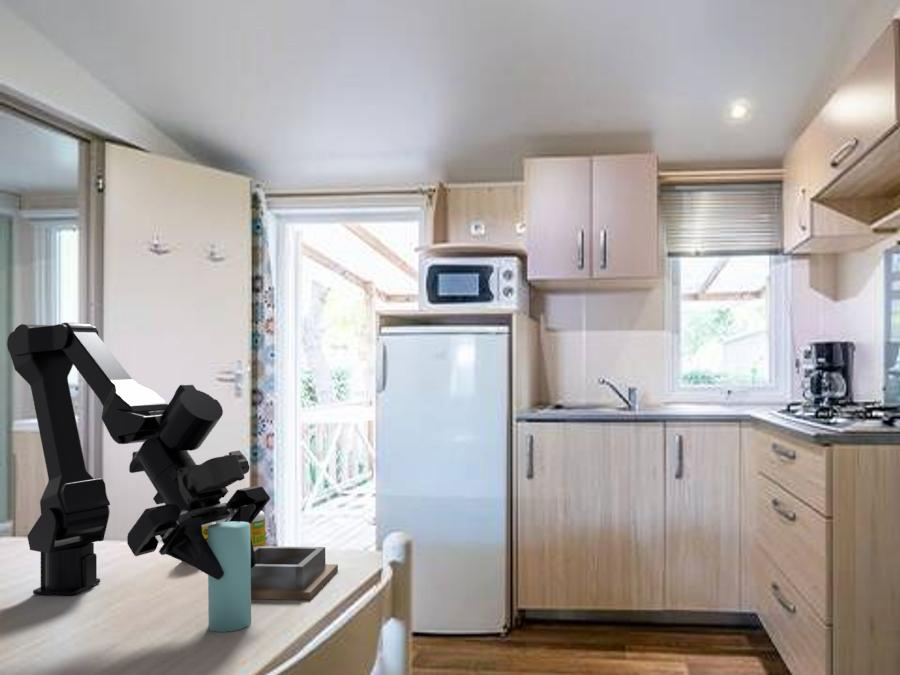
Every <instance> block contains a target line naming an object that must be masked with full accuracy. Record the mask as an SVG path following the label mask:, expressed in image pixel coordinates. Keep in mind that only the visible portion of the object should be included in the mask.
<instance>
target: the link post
mask: <svg viewBox="0 0 900 675" xmlns="http://www.w3.org/2000/svg"><path fill="white" fill-rule="evenodd" d="M208 545H209V546H210V548H211V550H212V551H213V553H214V555H215V556H216V558H217V560H218V562H219V563H220V566H221V568H222V570H223V572H224V575H223V576H222V578H221V579H219V580H217V579H215V578H213V577H211V576H209V575H208V574H207V581H208V582H207V586H208V587H207V588H208V591H207V592H208V593H207V594H208V596H207V598H208V603H207V604H208V606H207V607H208V608H207V609H208V629H209V630H210V631H212V632H218V633H221V632H222V633H228V632H227V631H230V632H234V631H233V630H236V631H239V630H238V629H240V630H243V629H245V628H244V627H246V628H248V627H249V626H250V625H251V624H252V599H251V549H250V523H248V522H241V521H233V522H222V523H216V522H215V523H212V525H210V526H208ZM248 625H249V626H248ZM247 626H248V627H247ZM242 628H243V629H242Z"/></svg>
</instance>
